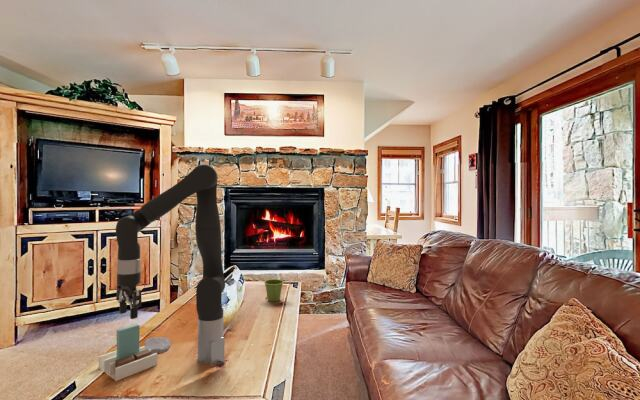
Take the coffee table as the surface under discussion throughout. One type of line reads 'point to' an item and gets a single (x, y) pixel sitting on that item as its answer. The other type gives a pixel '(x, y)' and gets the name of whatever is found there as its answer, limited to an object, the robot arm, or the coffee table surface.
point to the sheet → (127, 341)
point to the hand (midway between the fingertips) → (128, 315)
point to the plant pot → (273, 289)
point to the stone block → (158, 344)
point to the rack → (128, 369)
